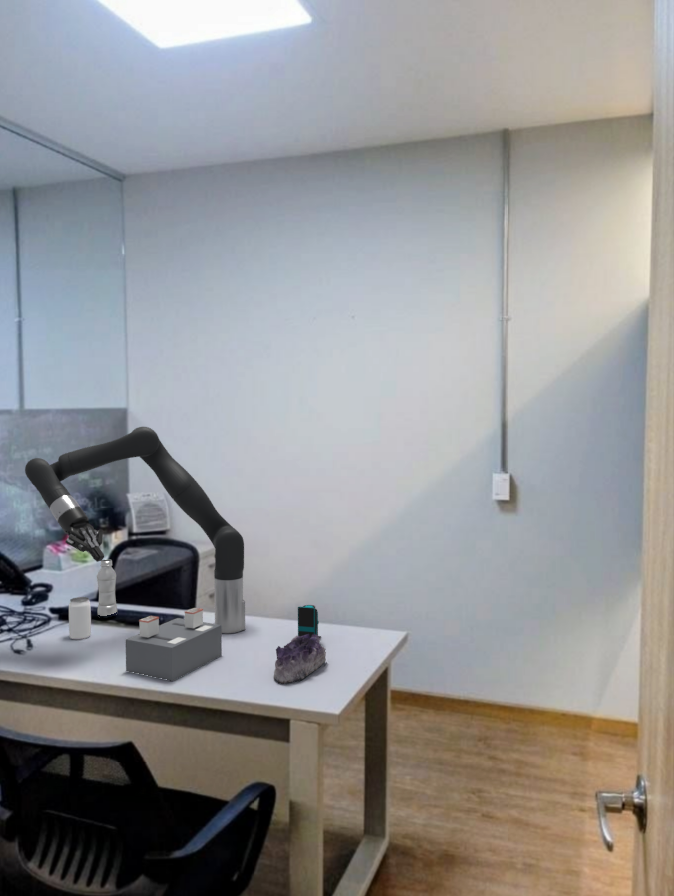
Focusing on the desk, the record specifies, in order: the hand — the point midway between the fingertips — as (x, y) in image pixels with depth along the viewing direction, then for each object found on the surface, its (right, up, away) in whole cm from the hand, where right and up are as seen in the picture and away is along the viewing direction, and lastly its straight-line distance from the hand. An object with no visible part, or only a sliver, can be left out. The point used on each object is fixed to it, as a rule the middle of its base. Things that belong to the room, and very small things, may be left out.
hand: (100, 559), depth 200 cm
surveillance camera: (+60, -28, +16) cm, 68 cm away
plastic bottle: (-12, -27, +41) cm, 51 cm away
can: (-14, -28, +21) cm, 37 cm away
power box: (+22, -29, -3) cm, 36 cm away
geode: (+57, -30, -9) cm, 65 cm away
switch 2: (+26, -20, +1) cm, 33 cm away
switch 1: (+16, -20, -7) cm, 26 cm away
